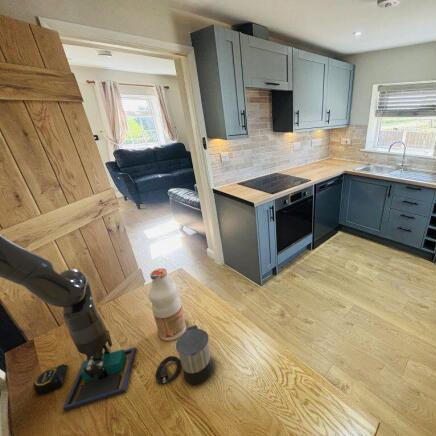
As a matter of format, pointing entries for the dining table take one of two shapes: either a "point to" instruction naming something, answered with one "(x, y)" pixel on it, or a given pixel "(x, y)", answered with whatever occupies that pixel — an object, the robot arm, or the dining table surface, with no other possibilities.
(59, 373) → the tape measure
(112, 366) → the teal pad
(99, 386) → the black pad
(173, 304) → the fruit juice
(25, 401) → the dining table surface
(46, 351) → the dining table surface
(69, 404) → the dark blue open frame
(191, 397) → the dining table surface
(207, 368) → the milk frother
